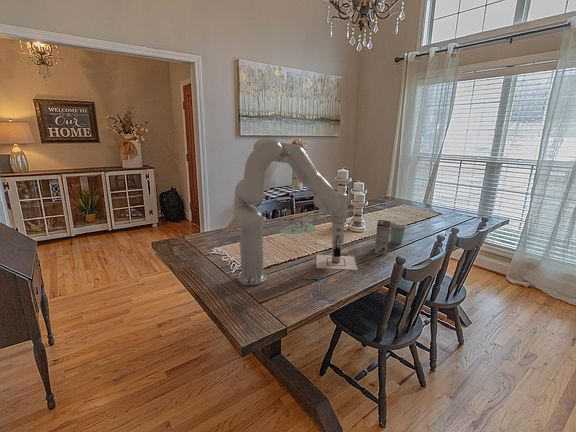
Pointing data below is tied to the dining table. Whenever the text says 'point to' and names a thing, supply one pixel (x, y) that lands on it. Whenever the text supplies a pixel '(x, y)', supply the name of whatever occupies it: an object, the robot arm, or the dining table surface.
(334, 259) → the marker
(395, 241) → the coffee cup
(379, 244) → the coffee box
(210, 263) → the dining table surface
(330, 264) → the paper sheet
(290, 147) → the robot arm
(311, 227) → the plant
